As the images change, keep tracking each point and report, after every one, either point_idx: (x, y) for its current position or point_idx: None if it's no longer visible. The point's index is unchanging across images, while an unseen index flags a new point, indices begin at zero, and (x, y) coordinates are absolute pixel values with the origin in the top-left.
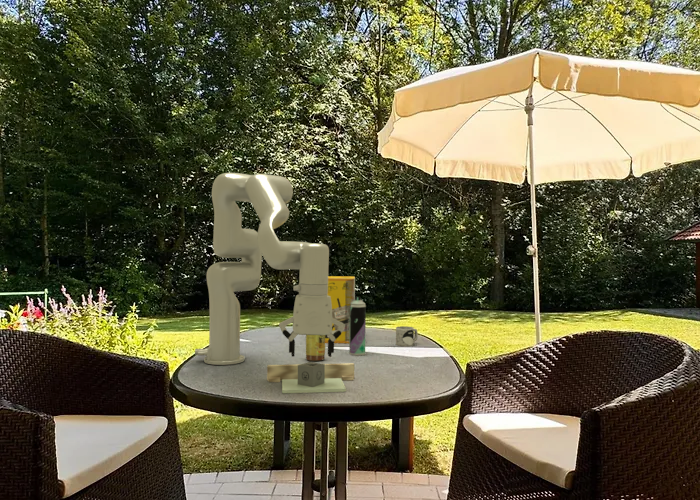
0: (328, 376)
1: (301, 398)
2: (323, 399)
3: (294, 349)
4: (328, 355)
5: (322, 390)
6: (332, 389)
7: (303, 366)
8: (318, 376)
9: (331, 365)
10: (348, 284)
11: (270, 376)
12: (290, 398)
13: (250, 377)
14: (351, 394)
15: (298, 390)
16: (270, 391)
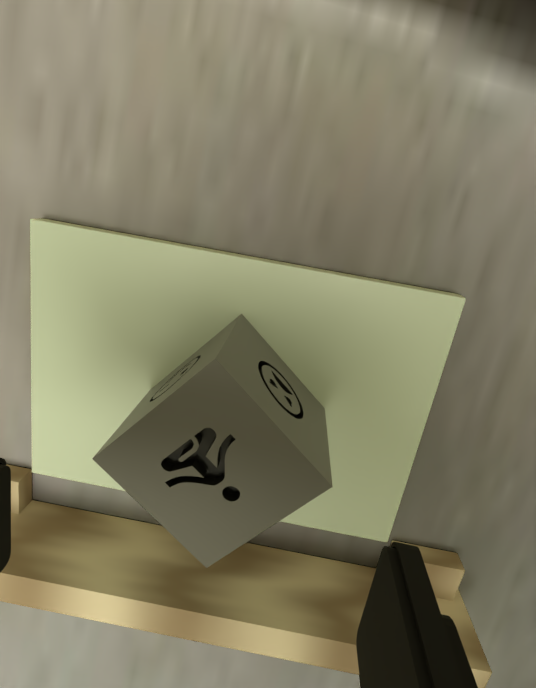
0: (100, 527)
1: (369, 130)
2: (225, 58)
3: (403, 607)
4: (7, 483)
5: (192, 248)
6: (123, 235)
7: (291, 440)
8: (182, 370)
9: (45, 577)
10: None
11: (444, 602)
12: (443, 151)
13: (522, 669)
14: (16, 141)
15: (353, 278)
16: (515, 363)
